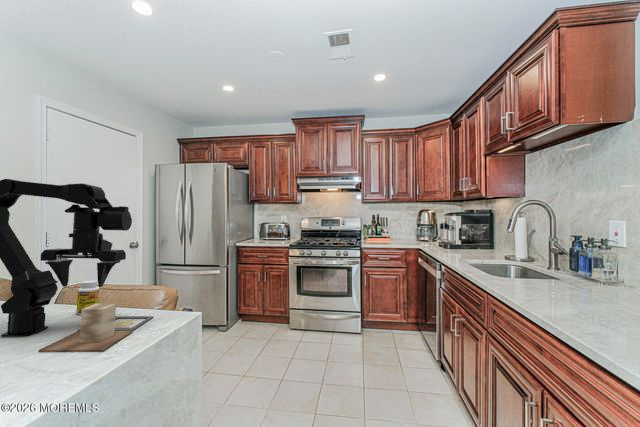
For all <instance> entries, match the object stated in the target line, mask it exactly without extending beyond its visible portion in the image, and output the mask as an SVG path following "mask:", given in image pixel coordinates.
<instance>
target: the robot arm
mask: <svg viewBox="0 0 640 427" xmlns="http://www.w3.org/2000/svg"><path fill="white" fill-rule="evenodd" d="M22 196H28V197H29V196H30V197H38V198H39V197H40V198H50V199H51V198H52V199H59V200H62V201H65V202H69V203H73V204H71V205H70V207H68V208H66V209H64V212H65V213H67V214H73V224H72V226H73V227H72V232H71V233H68V238H72V241H71V242H72V243H71V248H50V249H44V250H43V251H42V252H41V253H40V261H43V262H44V263H45V265H49V268H51V270H52V271H53V272H54V274H55V275H56V277H57V279H58V280H59V281H58V280H56V279H55V278H54V276H53V273H52V271H51V270H49V269H48V270H44V271H42V270H40V269H38V268H37V267H36V265H35V264H34V263H33V261H32V259H31V257H30V256H29V254H28V253H27V251H26V249H25V248H24V246H23V244H22V243H21V241H20V240H19V238H18V237H17V235H16V233H15V232H14V231H13V228H12V227H11V226H10V224H9V223H10V222H9V221H10V217H11V216H10V215H11V213H10V211H9V209H10V208H12V207H14V206H15V204H16V203H17V201H18V200H19V198H20V197H22ZM82 205H83V206H85V207H81V206H82ZM95 210H99V211H95ZM132 222H133V218H132V214H131V213H130V211H129V207H128V206H113V205H112V204H111V202H110V201H109V200H108V199H107V197H106V193H105V191H104V190H103V188H102V187H100V186H98V185H93V184H87V183H68V184H50V183H41V182H32V181H24V180H18V179H17V180H16V179H11V178H4V179H0V261H1V262H2V264H3V265H4V267H5V268H6V271H7V272H8V273H9V275H10V276H11V284H10V291H11V293H12V296H11V297H9V298H8V299H7V300H6V301H5V302H3V303H2V304H0V309H1V311H2V314H8V316H7V317H8V318H7V331H6V332H4V333H1V334H0V336H1V337H29V336H32V335H34V334H36V333H38V332H42V331H44V330H46V329H48V328H49V325H46V312H45V306H48V305H49V304H50V302H51V300H52V298H54V297H55V295H56V294H57V291H58V285H57V283H59V282H60V284H61V286H62V287H64V288H66V287H68V284H69V279H70V278H69V277H70V275H69V274H70V266H71V265H72V263H73V261H74V259H98V260H99V261H100V262H97V263H96V270H97V272H96V273H97V287H99V288H102V287H103V286H104V284H105V282H106V280H107V278H108V276H109V274H110V272H111V270H112V269H113V267H114V266H115V265H116V264H119V263H121V261H124V260H126V257H127V256H126V255H127V254H126V251H125V250H124V249H112V248H113V242H110V241H108V240H107V239H104V238H103V237H104V235H103V233H102V232H101V233H100V227H101V229H102V230H103V231H126V232H127V231H129V230H130V229H131V227H132Z"/></svg>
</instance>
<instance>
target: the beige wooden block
mask: <svg viewBox="0 0 640 427" xmlns="http://www.w3.org/2000/svg"><path fill="white" fill-rule="evenodd" d="M116 312H117V303H98V304H94V305H91V306H89V307H86V308H84V309H82V312H81V315H80V328H79V329H80V343H101V342H103V341H105V340H107V339H108V338H110V337H112V336H113V335H114V332H115V328H116V320H115V316H117V315H116Z"/></svg>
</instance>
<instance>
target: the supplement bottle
mask: <svg viewBox="0 0 640 427" xmlns="http://www.w3.org/2000/svg"><path fill="white" fill-rule="evenodd" d="M76 295H77V298H76V314H75V315H78V316H81V312H82V309H84V308H86V307H89V306H91V305H94V304H100V303H99V299H100V287H99V286H98V280H84V281H82V282H81V285H80V287H79V288H78V289H77V294H76Z"/></svg>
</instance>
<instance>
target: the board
mask: <svg viewBox="0 0 640 427" xmlns="http://www.w3.org/2000/svg"><path fill="white" fill-rule="evenodd" d="M133 333H134V331H115V332H114V335H113V336H112V337H110V338H108V339H107V340H105V341H103V342H101V343H80V331H78V330H77V331H75V332H73V333H70V334H69V335H65V337H62V338H61V339H59V340H56V341H54V342H52V343H50V344H48V345H46V346H44V347H41V348H40V349H38V350H37V351H38V353H105V352H106V351H107V350H109V349H111V348H112V347H113V346H115V345H116V344H118V343H119V342H121V341H122V340H124V339H126V338H127V337H129V336H130V335H132V334H133Z"/></svg>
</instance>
